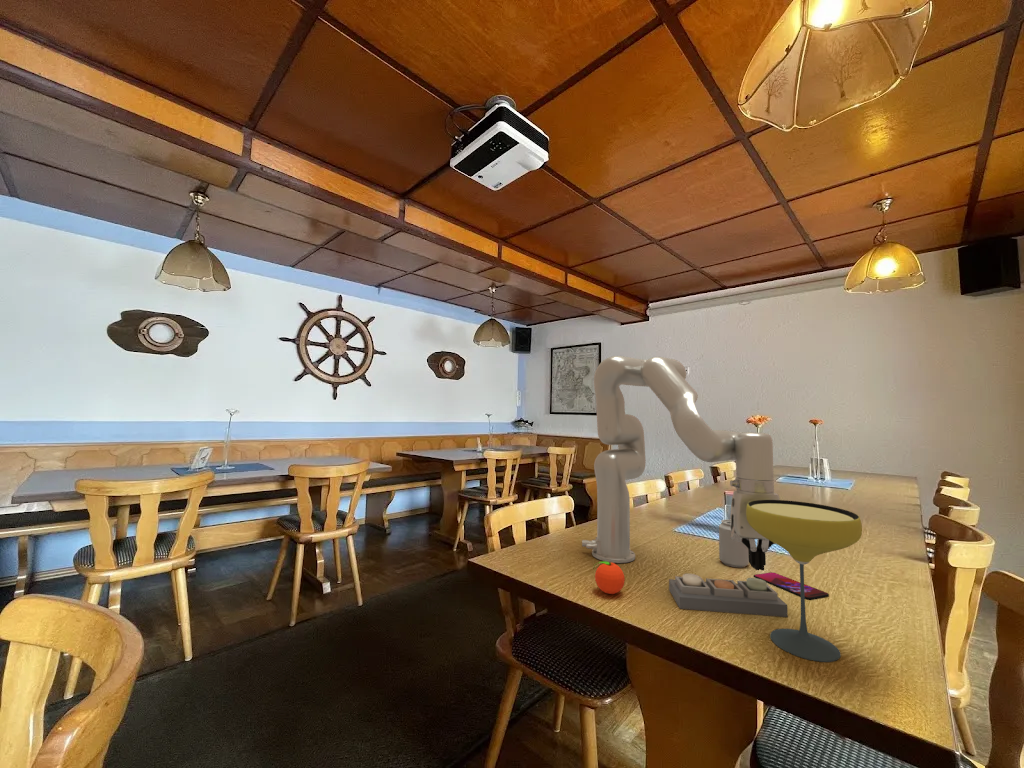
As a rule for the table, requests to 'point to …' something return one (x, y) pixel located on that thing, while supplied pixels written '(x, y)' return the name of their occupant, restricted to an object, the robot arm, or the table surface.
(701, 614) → the table surface
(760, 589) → the sage button
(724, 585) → the terracotta button
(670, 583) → the button panel
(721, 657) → the table surface
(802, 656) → the cocktail glass
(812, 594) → the smartphone
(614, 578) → the clementine
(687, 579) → the cream button
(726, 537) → the can
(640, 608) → the table surface
